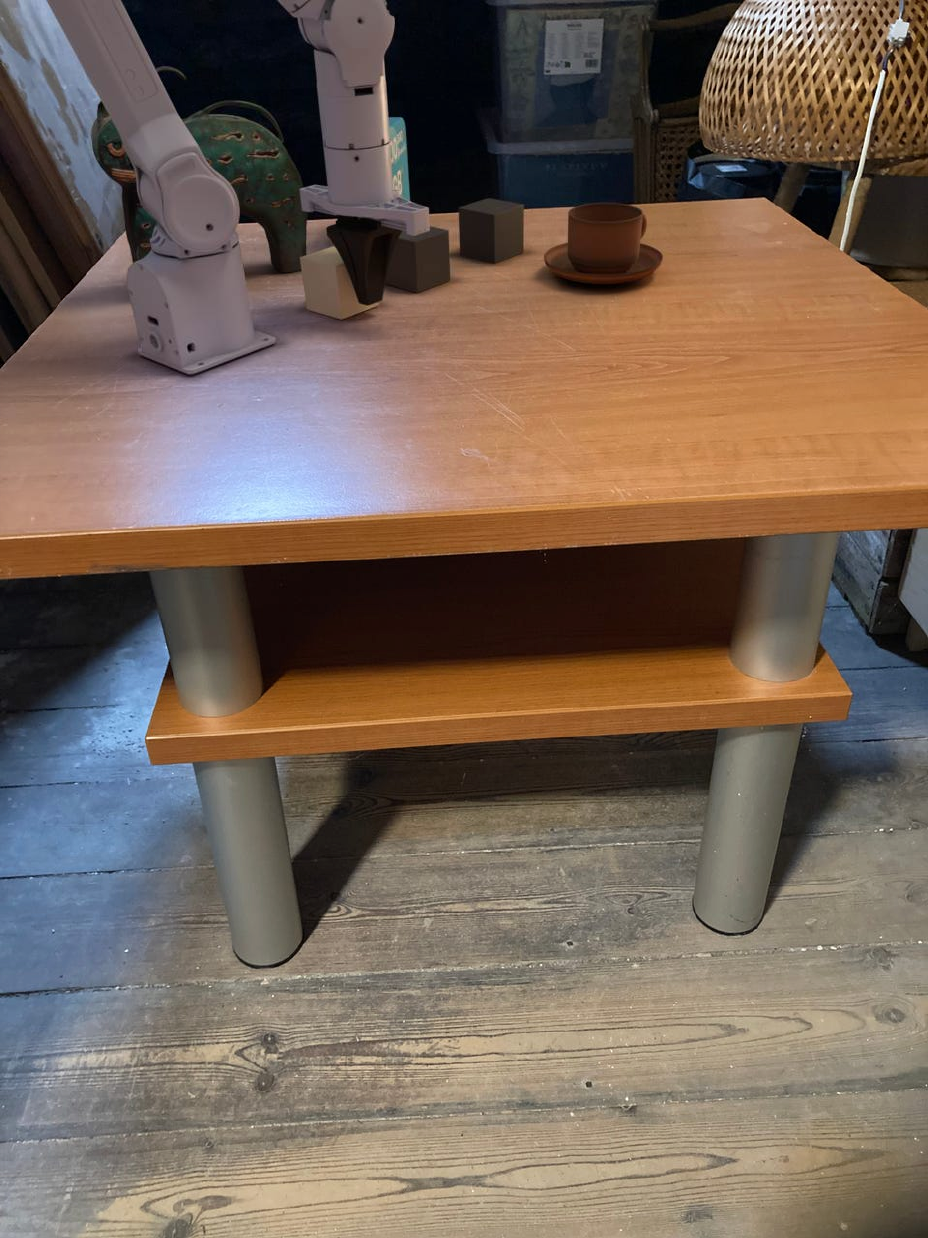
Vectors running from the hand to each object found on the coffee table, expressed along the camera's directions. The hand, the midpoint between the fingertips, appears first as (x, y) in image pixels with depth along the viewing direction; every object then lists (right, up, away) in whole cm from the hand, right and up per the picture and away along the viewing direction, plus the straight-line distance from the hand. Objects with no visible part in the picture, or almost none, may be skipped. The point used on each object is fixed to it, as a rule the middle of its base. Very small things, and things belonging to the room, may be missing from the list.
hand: (370, 301), depth 90 cm
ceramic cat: (-17, +6, +11) cm, 21 cm away
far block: (+12, +10, +16) cm, 22 cm away
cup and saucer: (+23, +5, +9) cm, 25 cm away
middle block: (+4, +5, +9) cm, 11 cm away
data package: (-1, +14, +22) cm, 26 cm away
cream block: (-3, 0, +3) cm, 4 cm away
